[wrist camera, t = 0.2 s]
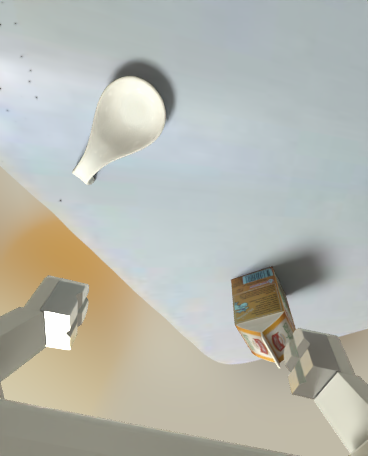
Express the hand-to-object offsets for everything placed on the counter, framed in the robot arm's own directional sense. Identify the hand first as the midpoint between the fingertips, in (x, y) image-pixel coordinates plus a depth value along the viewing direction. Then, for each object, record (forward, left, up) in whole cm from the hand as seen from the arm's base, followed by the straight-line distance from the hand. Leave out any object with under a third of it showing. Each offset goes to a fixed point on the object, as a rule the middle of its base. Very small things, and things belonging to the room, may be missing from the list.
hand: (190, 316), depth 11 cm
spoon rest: (+9, -15, -49) cm, 53 cm away
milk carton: (+39, +24, -49) cm, 67 cm away
